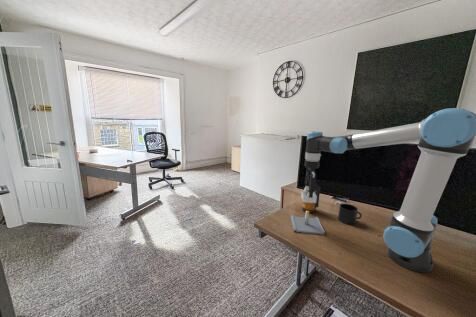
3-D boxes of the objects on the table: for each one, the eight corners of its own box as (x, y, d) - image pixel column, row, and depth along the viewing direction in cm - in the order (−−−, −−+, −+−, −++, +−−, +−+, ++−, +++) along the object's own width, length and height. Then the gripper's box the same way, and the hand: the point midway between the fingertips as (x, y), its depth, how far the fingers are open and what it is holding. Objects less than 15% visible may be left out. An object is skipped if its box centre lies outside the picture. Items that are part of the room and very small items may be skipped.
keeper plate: (324, 234, 103) (326, 220, 101) (293, 231, 105) (294, 217, 103) (317, 219, 118) (318, 206, 116) (290, 217, 121) (291, 204, 119)
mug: (361, 227, 111) (364, 212, 109) (338, 222, 115) (340, 208, 114) (359, 219, 119) (361, 206, 117) (337, 215, 124) (339, 202, 122)
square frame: (316, 203, 105) (316, 196, 104) (302, 201, 106) (303, 195, 105) (313, 197, 112) (314, 191, 111) (300, 196, 113) (301, 190, 112)
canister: (305, 206, 137) (308, 179, 133) (321, 211, 129) (323, 183, 125) (299, 209, 131) (301, 182, 127) (314, 215, 123) (317, 186, 119)
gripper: (324, 164, 94) (319, 208, 98) (315, 156, 113) (311, 193, 118) (308, 164, 95) (304, 206, 100) (302, 156, 114) (299, 192, 119)
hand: (308, 199), depth 109 cm, fingers closed on square frame, 7 cm apart
